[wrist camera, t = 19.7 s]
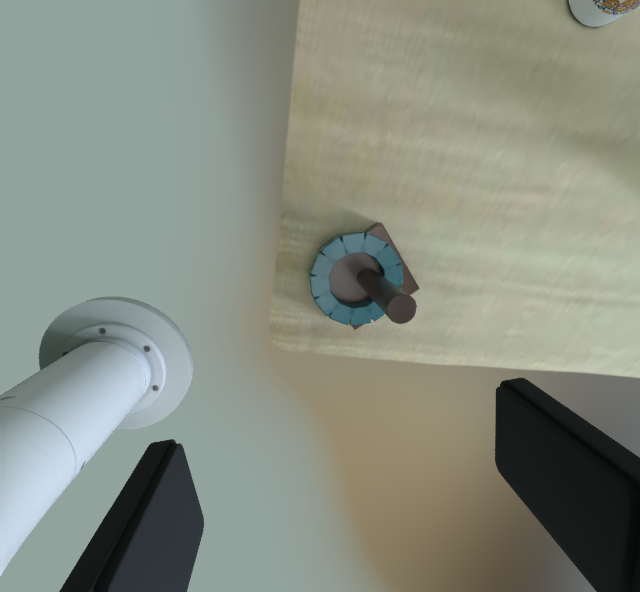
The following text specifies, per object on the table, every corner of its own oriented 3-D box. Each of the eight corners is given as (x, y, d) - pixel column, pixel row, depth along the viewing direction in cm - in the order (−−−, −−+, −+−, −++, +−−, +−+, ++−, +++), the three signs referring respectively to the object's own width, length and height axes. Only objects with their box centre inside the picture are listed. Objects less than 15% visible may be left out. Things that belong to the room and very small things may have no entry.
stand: (352, 325, 39) (381, 381, 26) (312, 265, 37) (322, 294, 24) (414, 286, 39) (476, 323, 26) (378, 222, 36) (425, 227, 23)
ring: (344, 335, 38) (346, 341, 36) (292, 269, 35) (291, 272, 33) (413, 284, 37) (419, 288, 35) (364, 213, 34) (369, 213, 33)
